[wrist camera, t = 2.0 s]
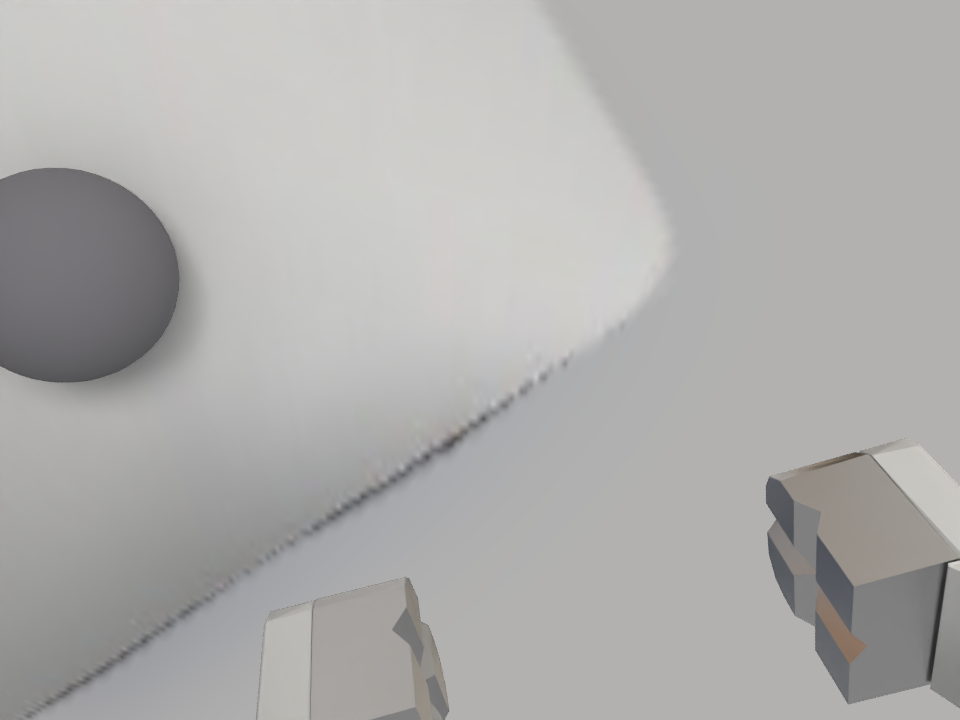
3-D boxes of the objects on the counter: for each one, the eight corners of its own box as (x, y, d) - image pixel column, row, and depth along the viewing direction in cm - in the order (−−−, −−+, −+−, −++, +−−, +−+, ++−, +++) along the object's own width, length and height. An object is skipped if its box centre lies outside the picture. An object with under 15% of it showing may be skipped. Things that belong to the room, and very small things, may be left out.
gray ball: (-39, 271, 22) (-126, 375, 18) (19, 102, 20) (-65, 174, 16) (152, 343, 24) (114, 453, 19) (221, 196, 22) (195, 283, 17)
